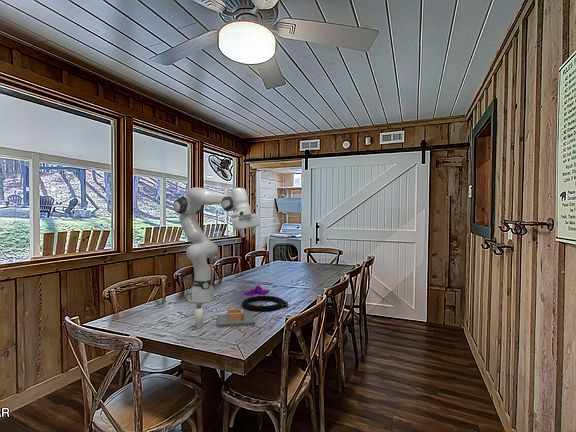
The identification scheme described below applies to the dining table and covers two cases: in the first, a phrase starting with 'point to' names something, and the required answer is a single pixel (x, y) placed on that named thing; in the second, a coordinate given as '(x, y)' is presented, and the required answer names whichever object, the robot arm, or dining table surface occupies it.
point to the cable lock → (278, 306)
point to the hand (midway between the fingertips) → (248, 235)
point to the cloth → (256, 291)
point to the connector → (199, 316)
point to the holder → (235, 318)
